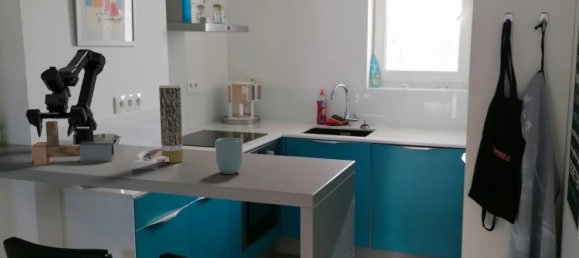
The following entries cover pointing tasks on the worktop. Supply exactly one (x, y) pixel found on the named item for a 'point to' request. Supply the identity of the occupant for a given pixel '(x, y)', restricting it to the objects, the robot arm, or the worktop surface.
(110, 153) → the sleeve
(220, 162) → the cup
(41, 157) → the light brown block
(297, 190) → the worktop surface
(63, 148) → the wooden l-shaped block
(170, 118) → the speckled tall cylinder
